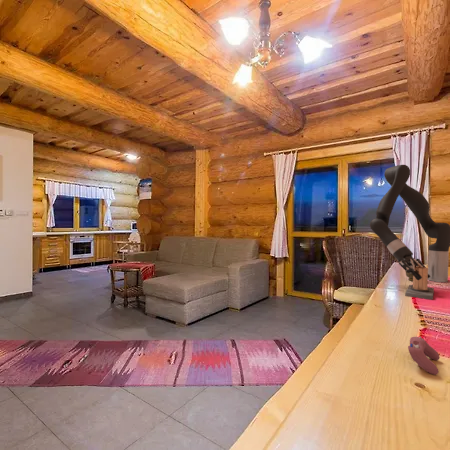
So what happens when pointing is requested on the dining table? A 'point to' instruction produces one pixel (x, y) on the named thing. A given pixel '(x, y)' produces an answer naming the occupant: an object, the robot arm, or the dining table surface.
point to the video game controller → (423, 354)
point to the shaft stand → (420, 292)
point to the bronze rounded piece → (409, 276)
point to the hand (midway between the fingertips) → (424, 278)
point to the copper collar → (423, 281)
